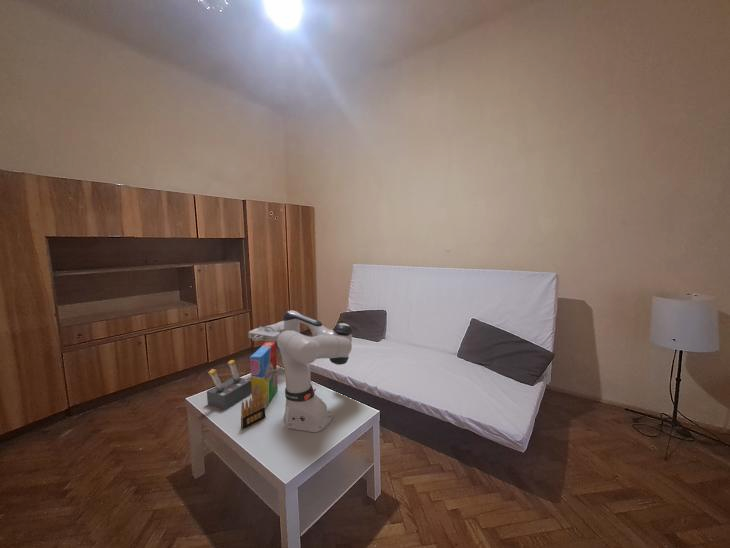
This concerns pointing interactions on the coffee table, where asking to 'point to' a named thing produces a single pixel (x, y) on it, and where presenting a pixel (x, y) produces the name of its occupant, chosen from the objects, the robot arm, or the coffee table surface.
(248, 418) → the ammunition clip
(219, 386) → the lever
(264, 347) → the game box
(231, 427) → the coffee table surface
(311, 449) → the coffee table surface
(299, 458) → the coffee table surface
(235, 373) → the lever
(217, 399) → the switch box
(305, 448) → the coffee table surface
